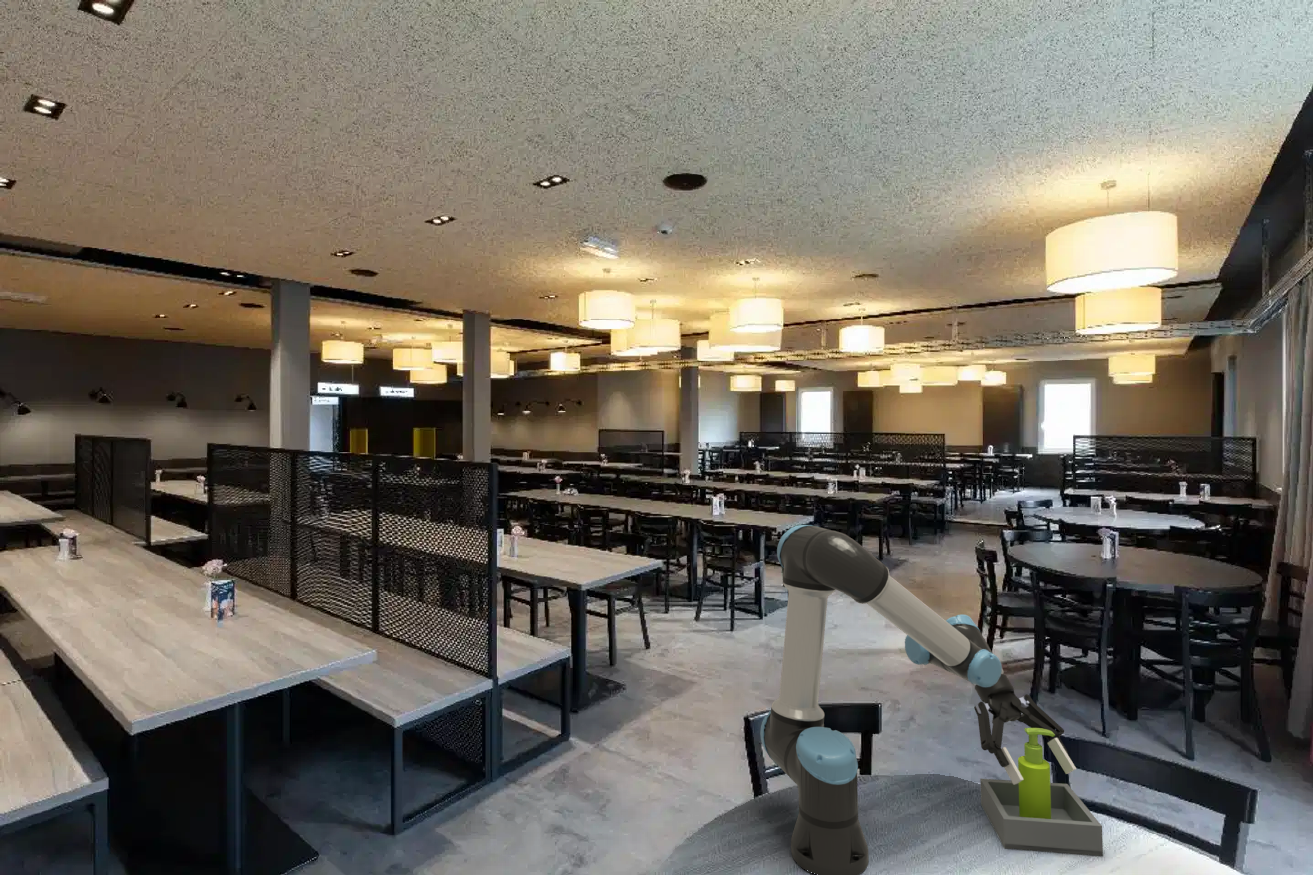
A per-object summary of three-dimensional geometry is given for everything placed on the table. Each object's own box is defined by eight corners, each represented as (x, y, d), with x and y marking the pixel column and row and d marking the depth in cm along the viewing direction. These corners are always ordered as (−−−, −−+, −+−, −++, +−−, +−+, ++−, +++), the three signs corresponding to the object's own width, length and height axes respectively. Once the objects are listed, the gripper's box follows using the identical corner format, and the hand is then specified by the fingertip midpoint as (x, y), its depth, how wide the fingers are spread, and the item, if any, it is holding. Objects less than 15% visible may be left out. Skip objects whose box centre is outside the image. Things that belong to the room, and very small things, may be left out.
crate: (1004, 848, 134) (1003, 818, 134) (981, 804, 150) (980, 778, 150) (1102, 856, 131) (1102, 825, 131) (1068, 810, 146) (1067, 783, 146)
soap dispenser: (1061, 833, 137) (1059, 736, 137) (1024, 830, 138) (1022, 734, 138) (1050, 817, 143) (1048, 724, 143) (1015, 814, 144) (1013, 722, 144)
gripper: (1024, 680, 158) (1081, 773, 144) (935, 694, 152) (986, 793, 137) (1042, 665, 153) (1103, 760, 139) (951, 679, 147) (1005, 780, 132)
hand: (1045, 776), depth 138 cm, fingers open, 13 cm apart
